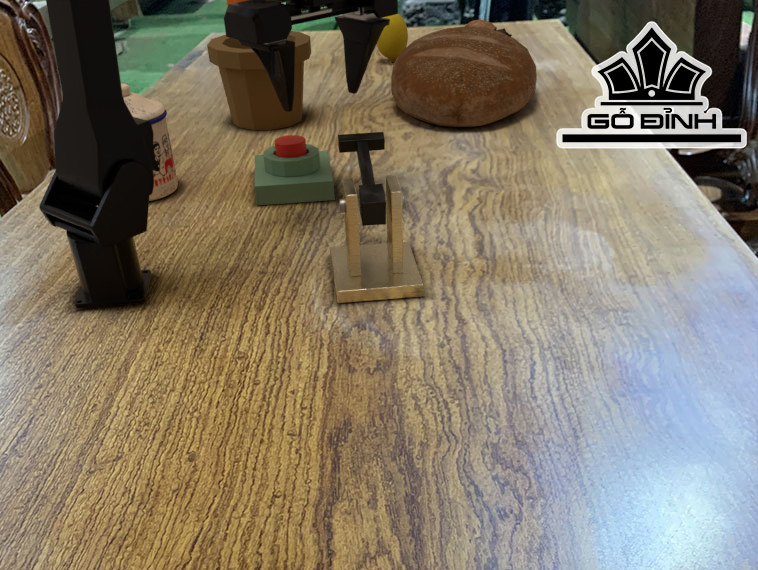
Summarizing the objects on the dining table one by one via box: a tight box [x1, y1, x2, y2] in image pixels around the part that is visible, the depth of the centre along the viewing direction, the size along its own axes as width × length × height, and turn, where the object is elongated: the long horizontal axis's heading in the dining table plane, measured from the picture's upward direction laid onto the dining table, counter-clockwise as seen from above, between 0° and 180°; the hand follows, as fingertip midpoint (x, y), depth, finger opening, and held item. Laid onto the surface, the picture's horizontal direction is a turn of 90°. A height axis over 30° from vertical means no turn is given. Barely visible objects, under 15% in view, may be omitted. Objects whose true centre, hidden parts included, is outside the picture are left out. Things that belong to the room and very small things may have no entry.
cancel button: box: [274, 134, 307, 158], centre depth 97 cm, size 4×4×2 cm
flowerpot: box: [206, 30, 312, 131], centre depth 111 cm, size 14×14×30 cm
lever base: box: [329, 174, 424, 304], centre depth 77 cm, size 10×8×9 cm
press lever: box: [337, 131, 387, 227], centre depth 78 cm, size 12×4×2 cm, turn 6°
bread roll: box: [463, 19, 513, 37], centre depth 153 cm, size 11×8×4 cm
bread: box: [390, 26, 538, 128], centre depth 125 cm, size 22×37×8 cm, turn 175°
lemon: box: [376, 13, 409, 63], centre depth 142 cm, size 6×6×8 cm
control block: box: [254, 143, 335, 206], centre depth 98 cm, size 11×9×4 cm
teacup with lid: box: [121, 83, 179, 202], centre depth 97 cm, size 12×9×12 cm
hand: (321, 101), depth 89 cm, fingers open, 9 cm apart
